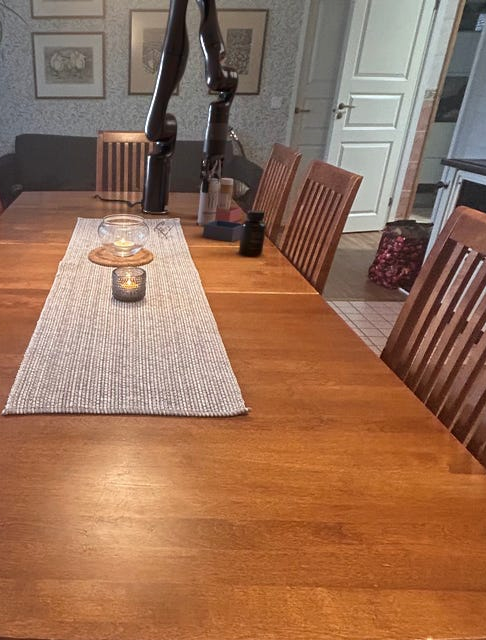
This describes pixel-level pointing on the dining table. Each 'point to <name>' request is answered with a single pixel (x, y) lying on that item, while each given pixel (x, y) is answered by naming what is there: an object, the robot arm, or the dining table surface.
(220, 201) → the sprinkles bottle
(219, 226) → the slate bin
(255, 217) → the supplement bottle
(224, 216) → the rose bin
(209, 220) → the energy drink can
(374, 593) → the dining table surface
